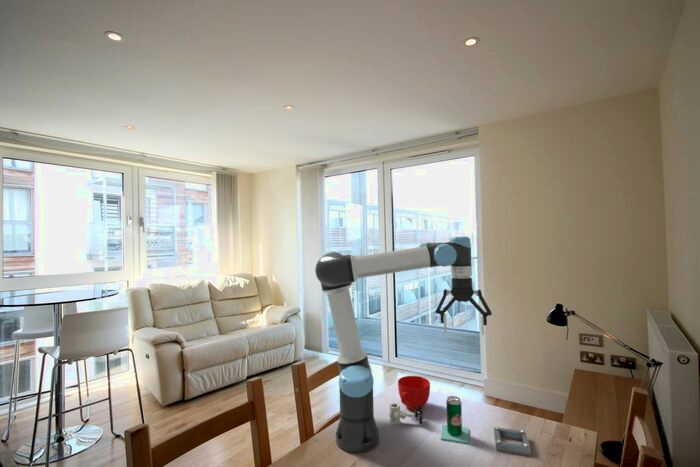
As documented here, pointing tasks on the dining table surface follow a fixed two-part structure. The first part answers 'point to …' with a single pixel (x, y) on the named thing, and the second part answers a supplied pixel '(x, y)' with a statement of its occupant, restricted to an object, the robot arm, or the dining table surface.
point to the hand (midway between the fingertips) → (463, 332)
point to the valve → (403, 414)
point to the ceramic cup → (414, 391)
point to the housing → (512, 447)
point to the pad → (461, 438)
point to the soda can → (454, 416)
